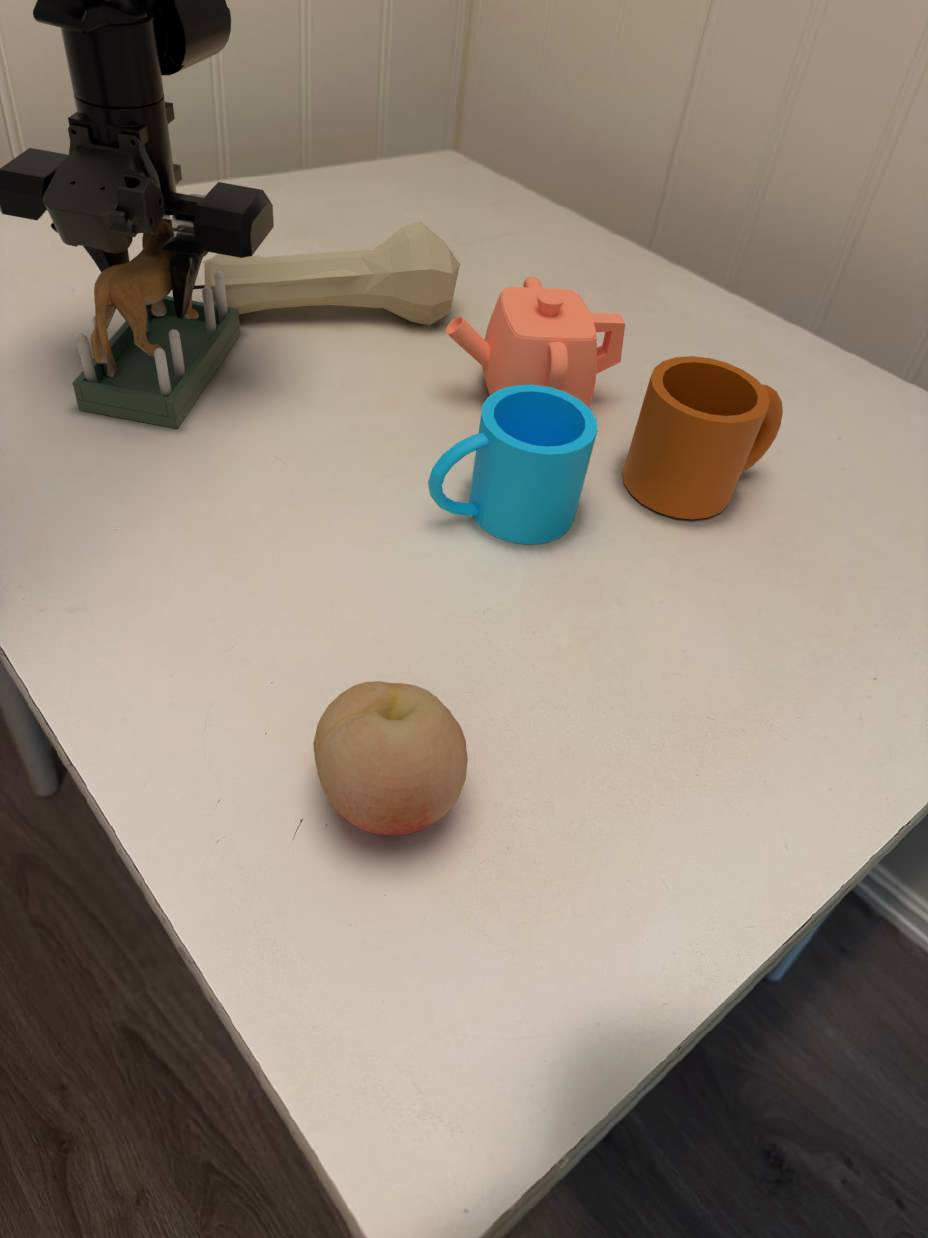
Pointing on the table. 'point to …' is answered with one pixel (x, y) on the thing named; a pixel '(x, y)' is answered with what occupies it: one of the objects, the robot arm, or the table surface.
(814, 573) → the table surface
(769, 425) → the mug
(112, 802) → the table surface
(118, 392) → the drying rack
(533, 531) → the mug
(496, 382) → the teapot
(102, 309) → the lion figurine
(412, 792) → the fruit
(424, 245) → the faceted club
